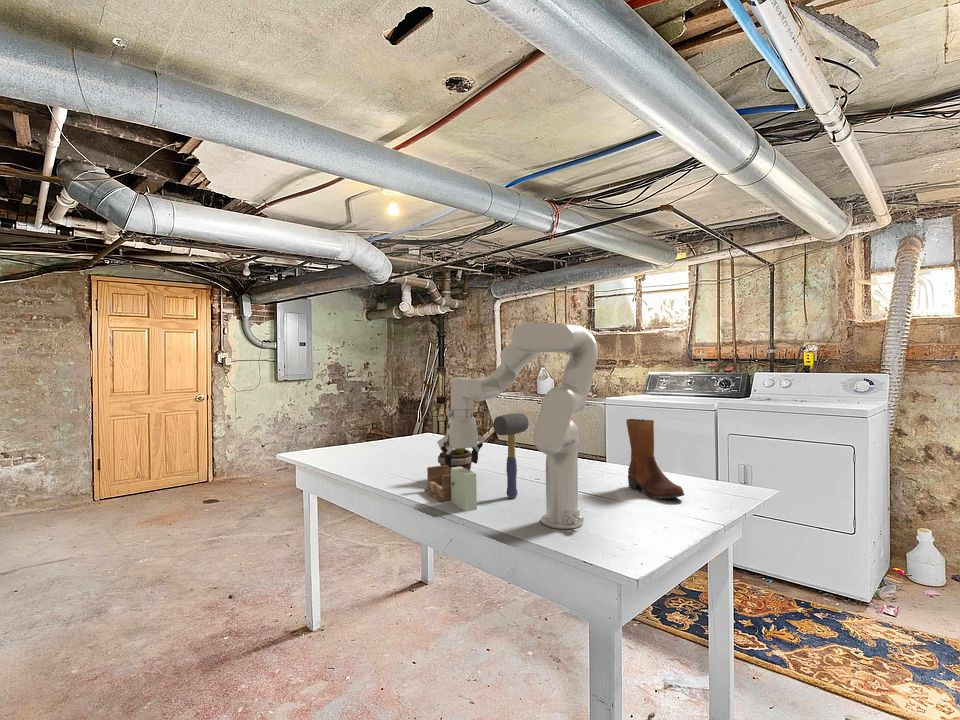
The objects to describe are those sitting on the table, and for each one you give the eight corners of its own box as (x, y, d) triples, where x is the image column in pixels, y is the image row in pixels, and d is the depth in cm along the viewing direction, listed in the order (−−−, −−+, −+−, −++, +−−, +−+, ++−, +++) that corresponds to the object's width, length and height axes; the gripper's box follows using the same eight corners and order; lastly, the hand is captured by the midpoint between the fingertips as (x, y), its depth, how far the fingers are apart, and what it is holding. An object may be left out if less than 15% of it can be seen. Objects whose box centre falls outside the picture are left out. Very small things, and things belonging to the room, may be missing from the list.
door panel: (476, 509, 167) (476, 473, 166) (464, 511, 164) (463, 475, 164) (461, 500, 177) (461, 466, 177) (449, 502, 175) (449, 467, 175)
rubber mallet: (508, 503, 172) (506, 416, 172) (492, 499, 178) (491, 414, 177) (531, 496, 181) (530, 412, 181) (515, 492, 187) (514, 411, 186)
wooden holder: (469, 498, 180) (469, 472, 180) (440, 502, 175) (440, 476, 175) (451, 487, 194) (451, 464, 194) (424, 491, 189) (424, 467, 189)
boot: (689, 502, 171) (688, 423, 171) (666, 505, 169) (666, 424, 168) (644, 484, 195) (643, 415, 195) (623, 486, 193) (623, 416, 192)
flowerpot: (475, 476, 211) (475, 429, 210) (472, 486, 195) (471, 435, 195) (441, 476, 212) (440, 429, 212) (434, 486, 197) (434, 435, 196)
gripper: (442, 416, 163) (442, 469, 164) (489, 413, 171) (489, 464, 172) (433, 413, 170) (433, 464, 171) (479, 411, 178) (479, 459, 178)
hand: (461, 464), depth 171 cm, fingers open, 9 cm apart
